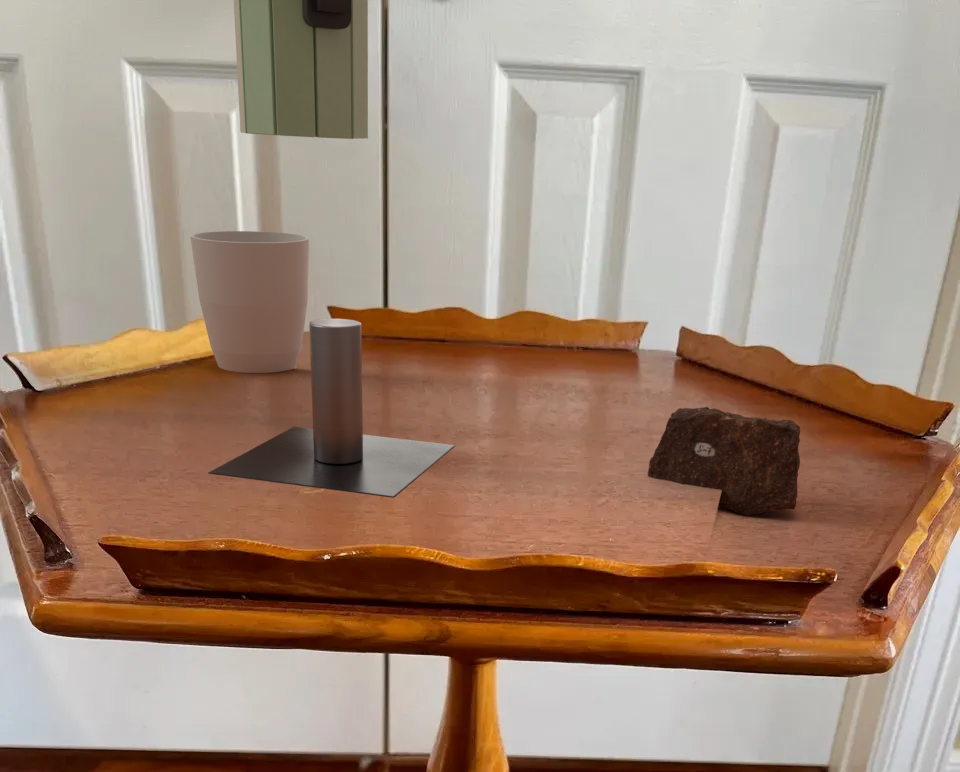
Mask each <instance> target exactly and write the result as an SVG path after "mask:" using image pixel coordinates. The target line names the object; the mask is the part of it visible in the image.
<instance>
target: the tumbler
mask: <svg viewBox="0 0 960 772" xmlns="http://www.w3.org/2000/svg"><path fill="white" fill-rule="evenodd" d="M233 16H234V35H235V51H236V52H235V54H236V72H237V73H236V74H237V91H238V92H237V93H238V111H239V113H238V114H239V130H240V131H239V133H242V134H250V135H263V136H264V135H265V136H280V137H282V136H284V137H300V138H318V139H319V138H320V139H324V138H325V139H346V140H368V139H369V0H351V22H350V25H349V26H348V27H347V28H345V29H338V30H336V29H325V28H315V27H310V26H308V25H307V24H306V23H305V21H304V19H303V13H302V0H233Z"/></svg>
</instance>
